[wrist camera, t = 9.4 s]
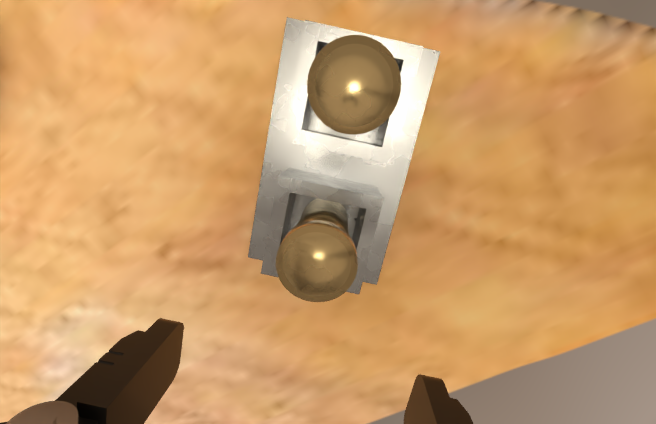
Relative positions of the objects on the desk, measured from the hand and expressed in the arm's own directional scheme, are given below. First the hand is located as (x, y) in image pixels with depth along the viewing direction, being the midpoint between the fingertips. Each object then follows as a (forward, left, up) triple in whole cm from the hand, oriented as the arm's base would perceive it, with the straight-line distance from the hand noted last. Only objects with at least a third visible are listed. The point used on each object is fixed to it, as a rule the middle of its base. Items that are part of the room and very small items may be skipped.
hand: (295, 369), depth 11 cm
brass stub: (0, 0, -19) cm, 19 cm away
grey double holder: (0, -5, -20) cm, 20 cm away
